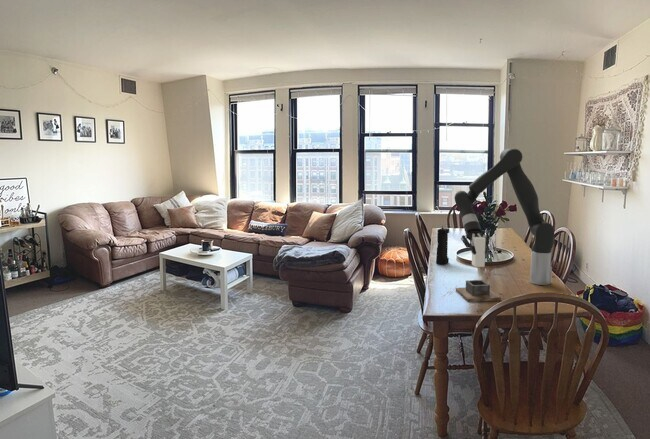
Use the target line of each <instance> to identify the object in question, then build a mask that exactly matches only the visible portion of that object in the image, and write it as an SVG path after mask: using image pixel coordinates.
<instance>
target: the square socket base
mask: <svg viewBox="0 0 650 439" xmlns="http://www.w3.org/2000/svg"><path fill="white" fill-rule="evenodd" d="M490 287H491V285H490V284H489V283H487V282H486V281H485V280H483V279H473V280H472V279H469V280H465V287H455V291H456V293H457V294H459V295H460V296H461V298H463V299H464V300H465V301H466V302H467V303H472V302H473V303H475V302H494V301H495V302H497V301H499V302H501V299H502V297H501V296H499V295H498V294H497V293H496V292H494V291H493V290H492V289H491V288H490Z"/></svg>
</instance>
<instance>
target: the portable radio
mask: <svg viewBox="0 0 650 439" xmlns="http://www.w3.org/2000/svg"><path fill="white" fill-rule="evenodd" d="M443 226H444V225H442V226H441V228H438V229H437V234H436V235H437V240H436V241H437V247H436V255H435V256H436V257H435V258H436V259H435V263H436V265H443V266H446V265H448V264H449V263H450V262H449V259H450V258H449V256H448V249H449V248H448V241H449V240H448V239H449V236H448V235H449V233H450V228H447V227H443Z"/></svg>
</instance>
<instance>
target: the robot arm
mask: <svg viewBox="0 0 650 439" xmlns="http://www.w3.org/2000/svg"><path fill="white" fill-rule="evenodd" d="M522 161H523V153H522V152H521V151H520V150H519V149H517V148H512V147H511V148H504V149H503V150H501V152H500V155H499V161H498V162H497V163H496V164H495V165H494V166H492V167H491V168H490V169H488V170H487V171H485V172H483V173H482V174H481V175H479V176H478V177H477V178H476V179H474V180H473V181H472V182H471V183H470V184H469V185H468V189H469V190H468V192H466V191H465V190H458V191H456V193H455V194H454V202H455V204H456V207H457V209H458V211H459V214H460V217H461V220H462V226H463V229H464V232H465V235H464V234H463V235H462V236H461V238H460V240H461V241H462V243H463V245H464V246H465V247H466V248H470V250H471V255H472V254H474V255H475V254H476V250H475V247H474V243H473V237H483V238H485V255H486V254H487V253H488V248H487V247H488V246H489V245H490V234H484V233H483V232H482V228H481V225H480V223H479V219H478V217H477V215H476V211H475V210H474V207H473V204H474V203H475V201H476V200H477V199H478V197H479V196H480V194H481V193H483V192H484V191H485V190H486V189H488V188H489V187H490V185H492V184H494V182H495V181H496V180H498V179H499V178H500V177H501V176H504V175H505V174H507V175H508V177H509V180H510V184H511V186H512V189H513V191H514V193H515V196H516V198H517V201H518V203H519V205H520V206H521V210H522V211H523V213H524V215H525V217H526V220H527V223H528V224H527V225H528V228H529V230H530V233H531V234H532V235H533V236H534V237H535V240H534V244H532V246H531V254H530V274H529V282H530V283H531V284H533V285H539V286H547V285H550V284H551V285H552V276H553V275H552V273H553V266H552V265H551V262H552V261H551V260H552V249H553V247H554V243H555V242H554V241H555V228H554V226H553V224H551V223H549V222H547V221H546V220H545V219H544V217H543V216H542V214H541V211H540V208H539V206H540V205H539V197H538V194H537V191H536V189H535V187H534V185H533V183H532V181H531V180H530V179H529V177H528V176H527V175H526V173H525V172H524V170H523V168H522V166H521V162H522Z"/></svg>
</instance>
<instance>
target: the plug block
mask: <svg viewBox="0 0 650 439" xmlns="http://www.w3.org/2000/svg"><path fill="white" fill-rule="evenodd" d="M473 243H474V247H475V250H476V254H475V255H474V254H472V253H471V266H473V267H475V268H485V266H486V265H485V264H486V262H485V260H486V257H485V256H486V254H485V238H484V237H473Z"/></svg>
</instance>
